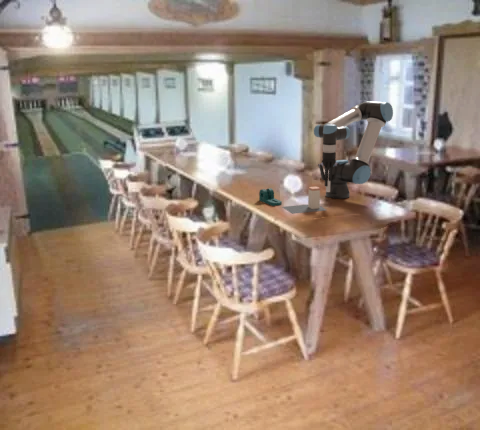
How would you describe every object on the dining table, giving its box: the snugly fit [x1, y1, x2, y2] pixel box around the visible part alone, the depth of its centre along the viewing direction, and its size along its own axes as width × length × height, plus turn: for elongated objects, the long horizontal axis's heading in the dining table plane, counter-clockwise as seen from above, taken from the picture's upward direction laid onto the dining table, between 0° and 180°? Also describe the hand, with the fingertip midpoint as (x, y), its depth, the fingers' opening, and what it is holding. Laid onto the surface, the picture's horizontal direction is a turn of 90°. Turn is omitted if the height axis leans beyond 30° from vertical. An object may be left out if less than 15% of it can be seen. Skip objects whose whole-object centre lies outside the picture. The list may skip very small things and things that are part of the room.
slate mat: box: [282, 203, 327, 215], centre depth 305 cm, size 22×16×1 cm
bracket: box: [258, 187, 283, 207], centre depth 320 cm, size 18×7×8 cm, turn 27°
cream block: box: [307, 186, 321, 209], centre depth 305 cm, size 5×5×12 cm
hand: (327, 191), depth 307 cm, fingers closed
